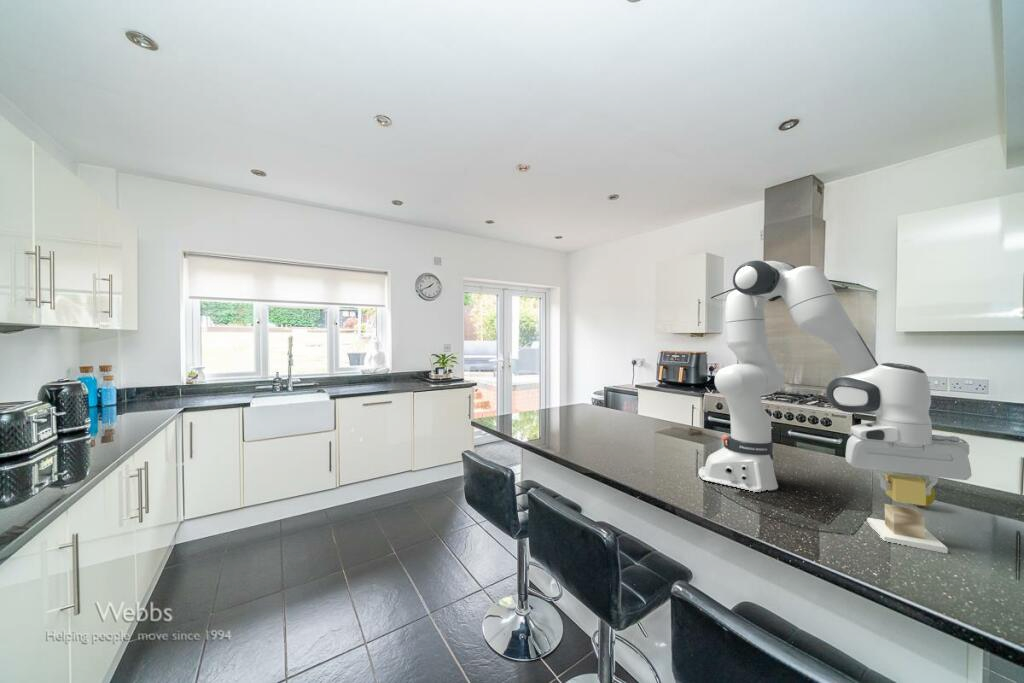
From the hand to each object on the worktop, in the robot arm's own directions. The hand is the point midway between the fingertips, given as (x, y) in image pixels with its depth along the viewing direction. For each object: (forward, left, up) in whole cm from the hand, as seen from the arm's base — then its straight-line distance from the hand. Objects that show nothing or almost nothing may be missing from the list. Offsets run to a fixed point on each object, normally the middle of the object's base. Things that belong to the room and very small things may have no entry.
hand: (904, 491), depth 84 cm
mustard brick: (0, 0, -2) cm, 2 cm away
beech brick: (0, 0, -10) cm, 10 cm away
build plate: (0, 0, -11) cm, 11 cm away
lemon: (+11, +23, -11) cm, 27 cm away
